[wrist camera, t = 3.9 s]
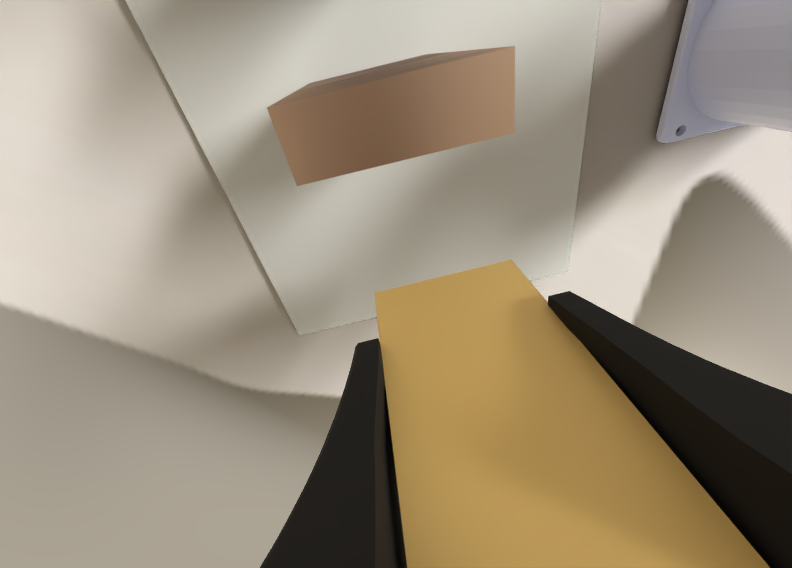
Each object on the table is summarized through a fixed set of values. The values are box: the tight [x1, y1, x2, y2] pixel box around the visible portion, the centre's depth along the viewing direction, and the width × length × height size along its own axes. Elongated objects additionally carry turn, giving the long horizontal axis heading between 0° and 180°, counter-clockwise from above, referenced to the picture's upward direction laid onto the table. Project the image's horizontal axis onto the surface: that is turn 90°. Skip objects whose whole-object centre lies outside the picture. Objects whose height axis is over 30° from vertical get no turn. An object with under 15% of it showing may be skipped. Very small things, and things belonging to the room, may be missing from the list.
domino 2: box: [374, 259, 770, 568], centre depth 8 cm, size 5×2×9 cm, turn 102°
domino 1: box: [267, 46, 515, 186], centre depth 11 cm, size 5×2×9 cm, turn 102°
